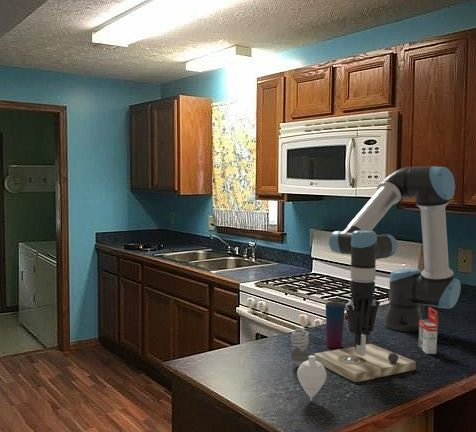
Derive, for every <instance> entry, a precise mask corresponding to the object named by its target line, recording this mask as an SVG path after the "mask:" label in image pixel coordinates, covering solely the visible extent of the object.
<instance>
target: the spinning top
mask: <svg viewBox="0 0 476 432" xmlns="http://www.w3.org/2000/svg"><path fill="white" fill-rule="evenodd" d="M315 360H316V356H314V354H313V355H308V359H307V360H306V361H304V362H303V363H302V364H301V365H300V366H298V368H297V371H296V375H297V379H298V381H299V384H300V386H301V387H302V388H303V390H304V392H305V393H306V394H307V396H308V397H309V398H310V399H309V400H310V402H312V401H313V398H314V397H315V396H316V394H317V393H318V392H319V391H320V390H321V389H322V387H323V386H324V384H325V382H326V380H327V371H326V367H324V366H323V365H322V364H321V363H320V362H317V361H315Z"/></svg>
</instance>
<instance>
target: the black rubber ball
mask: <svg viewBox="0 0 476 432" xmlns="http://www.w3.org/2000/svg"><path fill="white" fill-rule="evenodd" d="M397 354H398V353H396V352H393V353H390V354H389V355H388V359H389V361H390V362H392V363H395V362H397V361H398V355H399V354H398V355H397Z"/></svg>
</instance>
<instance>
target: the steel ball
mask: <svg viewBox="0 0 476 432" xmlns="http://www.w3.org/2000/svg"><path fill="white" fill-rule="evenodd" d="M345 361H347V362H355V360H354V359H353V358H347V359H346V360H345Z"/></svg>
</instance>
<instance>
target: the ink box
mask: <svg viewBox="0 0 476 432" xmlns="http://www.w3.org/2000/svg"><path fill="white" fill-rule="evenodd" d="M427 309H428V312H427V314H428V316H427V317H428V319H422V320H419V331H418V339H417V340H418V341H417V347H418V348H419V349H420V350H421V351H423V353H424V354H426V355H436V354H437V346H438V345H437V344H438V343H437V341H438V328H439V327H438V321H439V313H438V312H439V311H437V310H436V309H434V308H432V306H428V308H427Z"/></svg>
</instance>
